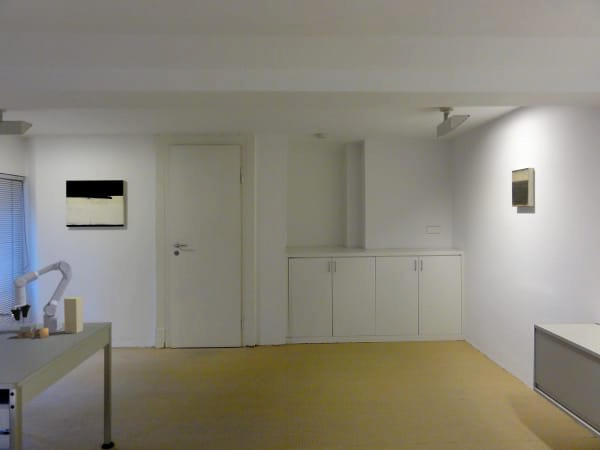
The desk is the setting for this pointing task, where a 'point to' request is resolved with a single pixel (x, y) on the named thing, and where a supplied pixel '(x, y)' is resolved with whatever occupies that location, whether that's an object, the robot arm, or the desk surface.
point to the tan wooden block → (73, 314)
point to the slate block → (27, 328)
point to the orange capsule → (44, 333)
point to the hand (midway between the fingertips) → (21, 319)
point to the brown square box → (28, 334)
